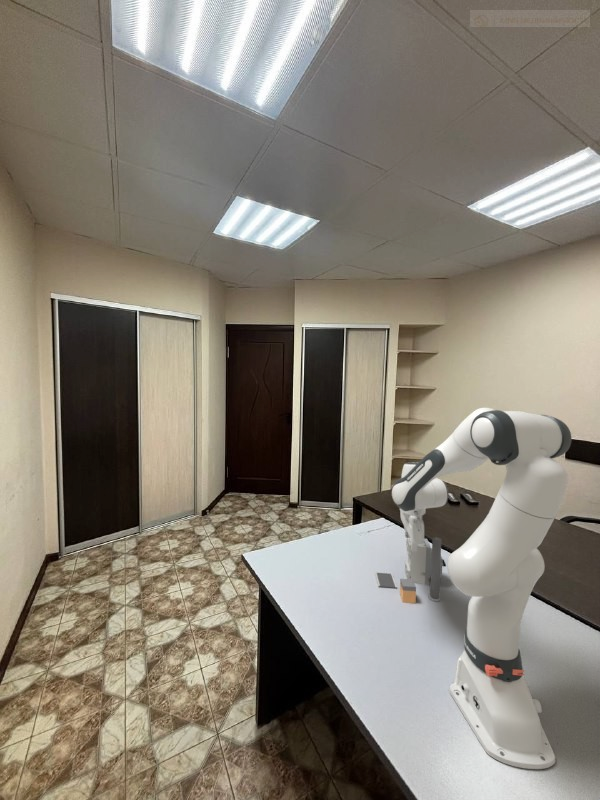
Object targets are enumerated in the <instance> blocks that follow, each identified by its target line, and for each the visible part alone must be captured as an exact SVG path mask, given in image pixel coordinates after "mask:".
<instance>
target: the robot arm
mask: <svg viewBox="0 0 600 800" xmlns="http://www.w3.org/2000/svg"><path fill="white" fill-rule="evenodd" d="M571 444H572V432H571V431H570V428H569V426H568V425H567V424H566V423H565V422H563V421H562V420H561V419H559V418H557V417H553V416H550V415H547V414H538V413H537V414H536V413H530V412H526V411H519V410H499V409H495V408H491V407H480V408H477V409H475V410H474V411H472V412H471V413H470V414H469V415H468V416H467V417H465V418H464V419H463V420H462V421H461V423H459V425H458V426H457V427H456V428H455V430H454V431H453V432H452V433H451V434H450V435H449V436H448V437H447V438H446V439H445V440H444V441H443V442H442V443H441V444H440V445H438V446H437V447H436V448H434V449H432V450H431V451H430V452H428V453H427V454H426V455H424V457H423V458H421V460H420V461H409V462H405V463H404V464H403V466H402V469H401V477H400V478H398V479H396V481H395V482H394V483H393V485H392V487H391V492H390V495H391V500H392V501H393V503H394V505H396V506H397V507H398V508H399V511H400V512H399V513H400V520H401V522H402V524H403V528H404V537H405V538H406V539H407V538H411V540H412V544H411V550H412V551H415V552H416V551H417V546H418V544H423V543H424V539H425V523H424V520H423V518H422V519H421V516H422V517H423V516H424V515H425V514H426V511H427V510H426V509H434V508H441V507H444V506H445V505H446V504H447V502H448V501H449V498H450V497H449V488H448V485H447V483H446V482H445V481H444V480H443V479H441V478H439V477H442V476H446V475H449V474H450V475H451V474H456V473H457V474H458V473H462V472H463V473H464V472H470V471H472V470H475V469H477V468H478V467H480V466H482V465H483V464H484V463H485V462H487V461H488V460H489V461H491V463H492V464H494V465H496V466H505V469H506V471H505V472H506V473H505V477H504V479H503V481H502V484H501V486H500V488H499V490H498V492H497V495H495V496H496V497H495V499H494V501H493V503H492V505H491V507H490V509H489V511H488V514H487V515H486V517H485V518H484V520H482V522H481V523H480V525H479V526H478V527H477V528H476V529H475V530H474V531H473V533H472V534H471V535H470V536H469V538H468V539H467V540H466V541H465V542H464V543H463V544H462V545H461V546H460V547H459V548H457V549H456V550H454V551H453V552H452V553H450V554H449V556H448V558H447V564H446V567H447V573H448V575H449V578H450V581H451V582H452V584H453V586H455V588H456V589H458V591H459V592H461V594H464V595H465V596H468V597H470V599H469V601H468V605H467V619H466V620H467V622H466V629H465V630H464V631H465V632H464V635H463V648H464V650H463V652H462V653H461V655H460V656H459V657H458V658H457V664H456V672H455V677H454V682H452V683H451V684H450V686H449V694H450V696H451V697H452V698H453V700H454V701H455V704H456V705H457V707H458V708H459V710H460V711H461V713H462V715H463V716H464V718H465V720H466V722H467V723H468V725H469V726H470V728H471V730H472V732H473V733H474V735H475V737H476V738H477V740H478V741H479V743H480V745H481V747H482V748H483V749H484V751H485V752H486V754H488V755H489V756H490V757H492V758H493V759H495V760H497V761H499V762H500V763H504V764H505V765H509V766H512V767H516V768H522V769H529V770H542V769H548V768H550V767H552V766H553V765H555V764H556V755H555V752H554V750H553V748H552V746H551V744H550V741H549V739H548V737H547V735H546V732H545V730H544V728H543V726H542V723H541V719H540V716H539V714H542V709H543V708H542V705H541V703H540V700H538V699H534V698H533V697H532V694H531V692H530V689H529V688H530V682H529V680H528V679H526V678H525V674H524V673H525V670H524V668H523V660H522V654H521V651H520V646H519V645H520V637H521V635H520V633H521V624H522V618H523V615H524V613H525V610H526V607H527V604H528V602H529V600H530V599H529V598H530V596H531V594H532V591H533V589H534V586H535V585H536V584H537V581H539V580H540V578H541V576H542V575H543V574H544V572H545V567H546V566H545V560H544V558H543V554H542V553H541V552H540V550H539V549H538V547H539V546H540V545H541V544H542V542H543V540H544V539H545V538H546V536H547V534H548V532H549V530H550V528H551V526H552V524H553V522H554V520H555V518H556V516H557V515H558V512H559V510H560V508H561V506H562V503H563V500H564V498H565V496H566V495H565V494H566V491H567V488H568V482H569V474H568V472H567V470H566V468H565V467H564V466H563V465H562V464H561V463H559V462H558V461H557V460H555V459H556V458H559V457H561V456H563V455H565V453H567V452H568V451H569V449H570V448H571Z"/></svg>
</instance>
